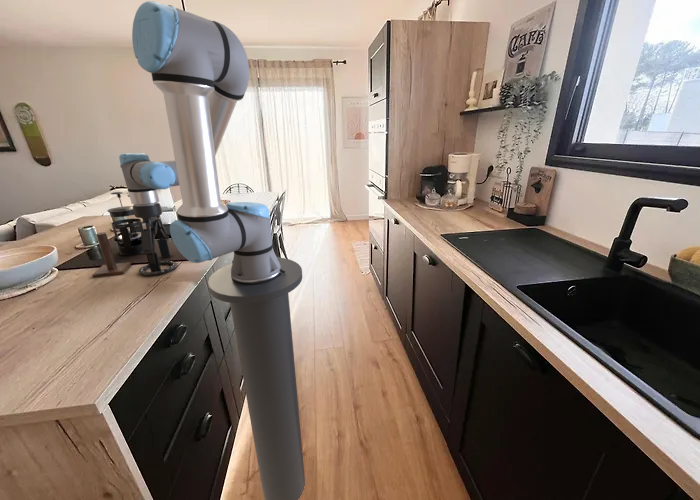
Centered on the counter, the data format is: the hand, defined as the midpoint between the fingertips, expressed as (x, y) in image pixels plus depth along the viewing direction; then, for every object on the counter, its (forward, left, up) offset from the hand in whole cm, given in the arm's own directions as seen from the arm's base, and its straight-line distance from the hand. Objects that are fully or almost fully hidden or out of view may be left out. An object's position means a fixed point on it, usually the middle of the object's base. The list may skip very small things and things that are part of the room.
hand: (161, 263), depth 100 cm
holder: (+14, +1, 0) cm, 14 cm away
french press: (+13, -17, 0) cm, 21 cm away
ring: (0, +5, 0) cm, 5 cm away
